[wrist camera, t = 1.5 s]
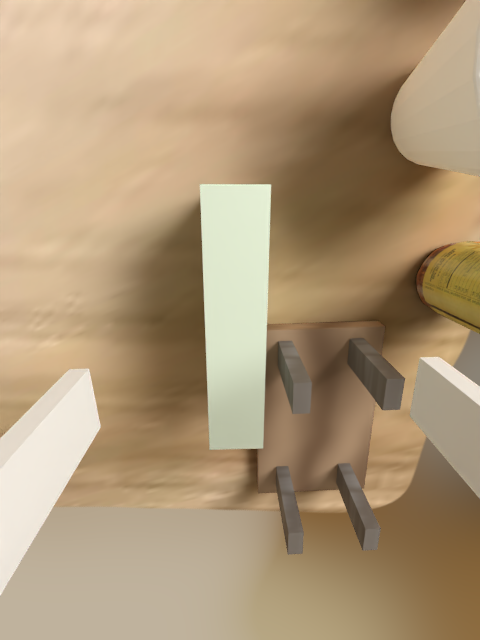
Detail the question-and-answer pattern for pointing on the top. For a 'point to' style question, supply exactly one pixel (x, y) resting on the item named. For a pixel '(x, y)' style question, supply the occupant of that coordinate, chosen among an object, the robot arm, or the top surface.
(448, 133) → the cup
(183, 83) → the top surface
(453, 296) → the sauce bottle
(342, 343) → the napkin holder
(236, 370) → the door panel
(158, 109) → the top surface
